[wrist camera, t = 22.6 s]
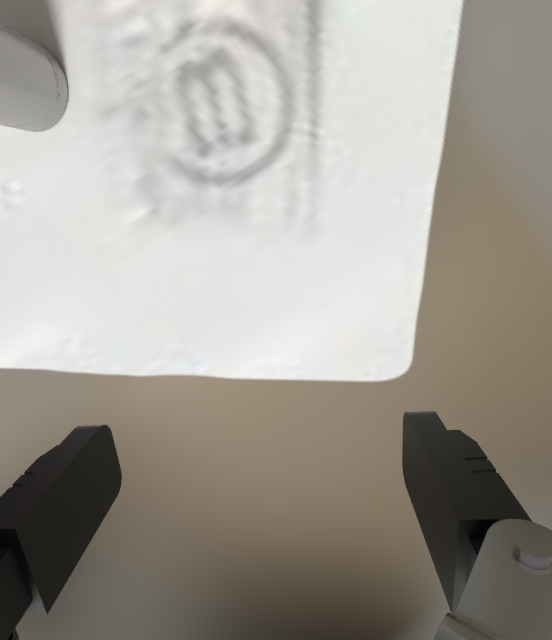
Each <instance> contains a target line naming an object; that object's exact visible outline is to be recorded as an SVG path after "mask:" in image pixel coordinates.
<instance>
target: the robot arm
mask: <svg viewBox="0 0 552 640" xmlns="http://www.w3.org/2000/svg"><path fill="white" fill-rule="evenodd" d="M67 102H68V88H67V81H66V78H65V75H64V72H63V70H62V68H61V66H60V64H59V63H58V61H57V60H56V59H55V57H54V56H53V55H52V54H51V53H50V52H49V51H48V50H47V49H46V48H44V47H43V46H41V45H39V44H38V43H36V42H34V41H33V40H31V39H29V38H27V37H25V36H24V35H22V34H20V33H18V32H17V31H15V30H13V29H11V28H10V27H8V26H6V25H4V24H2V23H1V22H0V125H3V126H7V127H12V128H17V129H21V130H26V131H33V132H37V131H44V130H46V129H49V128H51V127H52V126H54V125H55V124H56V123H57V122H58V121H59V120H60V119H61V118H62V116H63V114H64V112H65V109H66V105H67ZM402 456H403V457H402V465H403V474H404V480H405V485H406V488H407V491H408V494H409V496H410V499H411V502H412V504H413V508H414V510H415V513H416V516H417V518H418V521H419V524H420V527H421V530H422V533H423V535H424V538H425V541H426V544H427V546H428V549H429V552H430V555H431V557H432V560H433V563H434V566H435V569H436V572H437V574H438V577H439V580H440V582H441V585H442V588H443V591H444V593H445V597H446V599H447V602H448V605H449V607H450V610H451V613H452V614H450V613H447V614H446V615H445V617H444V618H443V620H442V622H441V624H440V626H439V628H438V630H437V633H436V635H435V638H434V640H552V530H550V529H548V528H547V527H544V526H542V525H540V524H537V523H534V522H532V520H531V519H530V518H529V516H528V515H527V513H526V512H525V510H524V509H523V508H522V506H521V505H520V503H519V502H518V501H517V499H516V498H515V496H514V495H513V493H512V492H511V491H510V489H509V488H508V486H507V485H506V483H505V482H504V481H503V479H502V478H501V476H500V475H499V473H496V469H495V468H494V466H493V465H492V463H491V462H490V461H489V460H487V456H486V455H485V453H484V452H483V451H482V449H481V448H480V446H479V445H478V443H477V442H476V441H474V440H473V439H471V438H470V437H469V436H467V435H466V434H464V433H463V432H462V431H460V430H446V428H445V426H444V424H443V423H442V421H441V420H440V418H439V416H438V415H437V413H436V412H435V411H424V412H423V411H422V412H405V413H404V416H403V455H402ZM121 479H122V474H121V468H120V464H119V461H118V456H117V452H116V448H115V444H114V440H113V436H112V432H111V430H110V428H109V427H108V426H107V425H90V426H78V427H76V428H75V429H74V430H73V431H72V432H71V433H70V434H69V435H68V436H67V437H66V438H65V440H63V441H62V443H61V444H60V445H57V446H56V447H54V448H53V449H51V450H50V451H48V452H47V453H45V454H44V455H42V456H40V457H39V458H38V459H37V460H36V461H35V462H34V463H33V464H32V465H31V466H30V467H29V468H28V469H27V470H26V471H25V474H24V475H21V476H20V477H19V478H18V480H16V482H15V483H14V484H13V487H11V488H9V489H8V490H7V491H6V492H5V493H4V494H3V495H2V496H1V497H0V640H19V634H18V631H17V629H16V626H17V624H18V623H19V621H20V620H21V618H22V617H23V615H47V614H48V612H49V611H50V609H51V607H52V606H53V604H54V602H55V600H56V599H57V597H58V595H59V594H60V592H61V590H62V588H63V587H64V585H65V583H66V582H67V580H68V578H69V577H70V575H71V573H72V572H73V570H74V568H75V567H76V565H77V563H78V562H79V560H80V558H81V556H82V555H83V553H84V551H85V550H86V548H87V546H88V544H89V543H90V541H91V540H92V538H93V536H94V534H95V533H96V531H97V529H98V528H99V526H100V524H101V522H102V521H103V519H104V517H105V516H106V514H107V512H108V511H109V509H110V507H111V506H112V504H113V502H114V501H115V499H116V497H117V495H118V493H119V490H120V487H121Z"/></svg>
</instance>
